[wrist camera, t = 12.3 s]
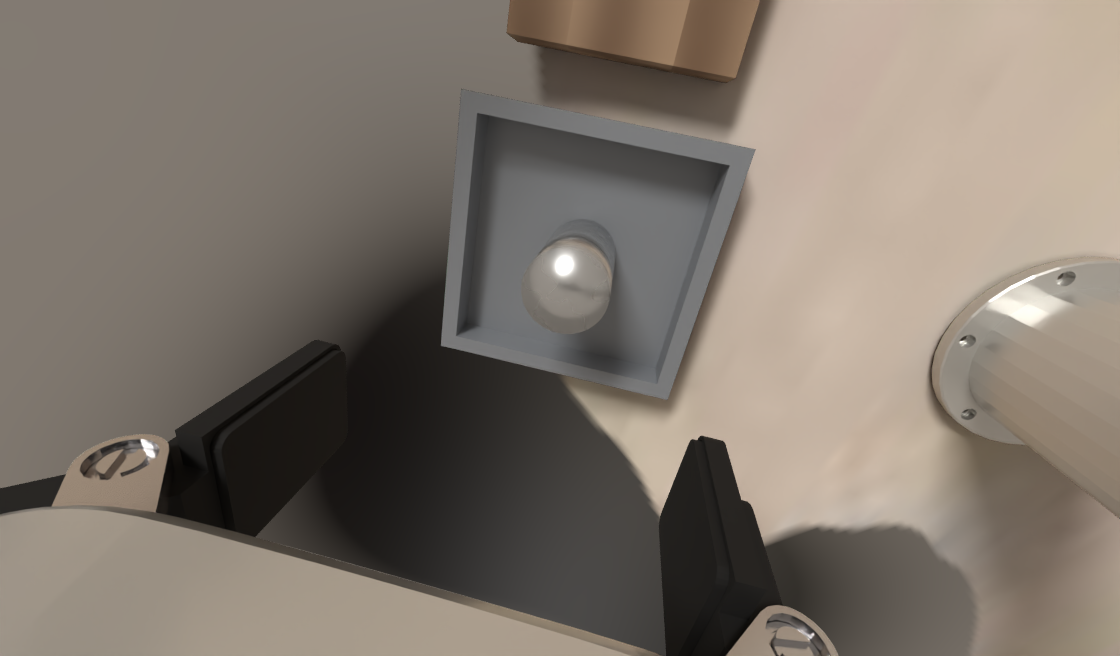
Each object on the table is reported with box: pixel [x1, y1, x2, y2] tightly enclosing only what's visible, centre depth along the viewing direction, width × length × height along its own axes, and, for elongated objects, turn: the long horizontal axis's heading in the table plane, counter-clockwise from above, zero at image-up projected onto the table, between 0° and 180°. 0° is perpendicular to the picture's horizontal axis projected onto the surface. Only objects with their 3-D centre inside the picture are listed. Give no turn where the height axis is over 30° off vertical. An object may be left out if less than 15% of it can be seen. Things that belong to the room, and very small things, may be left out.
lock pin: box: [521, 219, 616, 334], centre depth 25 cm, size 4×4×8 cm
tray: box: [441, 89, 756, 400], centre depth 28 cm, size 16×16×3 cm
